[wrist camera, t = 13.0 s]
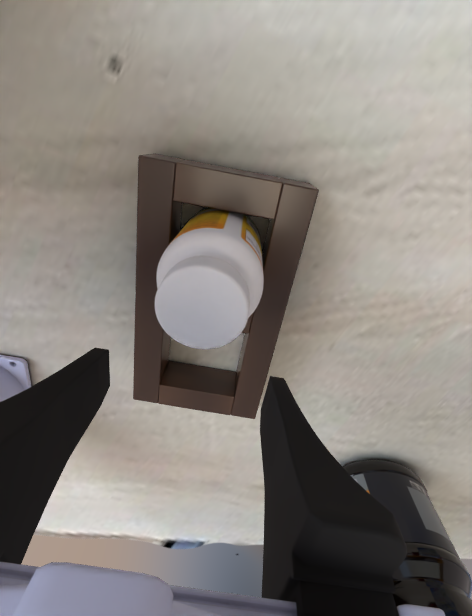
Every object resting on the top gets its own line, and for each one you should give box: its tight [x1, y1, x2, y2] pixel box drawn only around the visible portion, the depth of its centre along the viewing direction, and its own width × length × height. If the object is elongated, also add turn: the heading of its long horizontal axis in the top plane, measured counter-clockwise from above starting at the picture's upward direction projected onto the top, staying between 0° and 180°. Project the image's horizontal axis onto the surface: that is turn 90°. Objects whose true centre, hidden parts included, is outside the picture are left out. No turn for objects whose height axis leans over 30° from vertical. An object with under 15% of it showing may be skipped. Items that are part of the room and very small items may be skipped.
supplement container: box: [343, 460, 472, 616], centre depth 28 cm, size 10×10×12 cm
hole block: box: [133, 154, 319, 419], centre depth 22 cm, size 10×18×3 cm, turn 170°
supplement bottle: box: [155, 207, 264, 349], centre depth 17 cm, size 5×5×10 cm
